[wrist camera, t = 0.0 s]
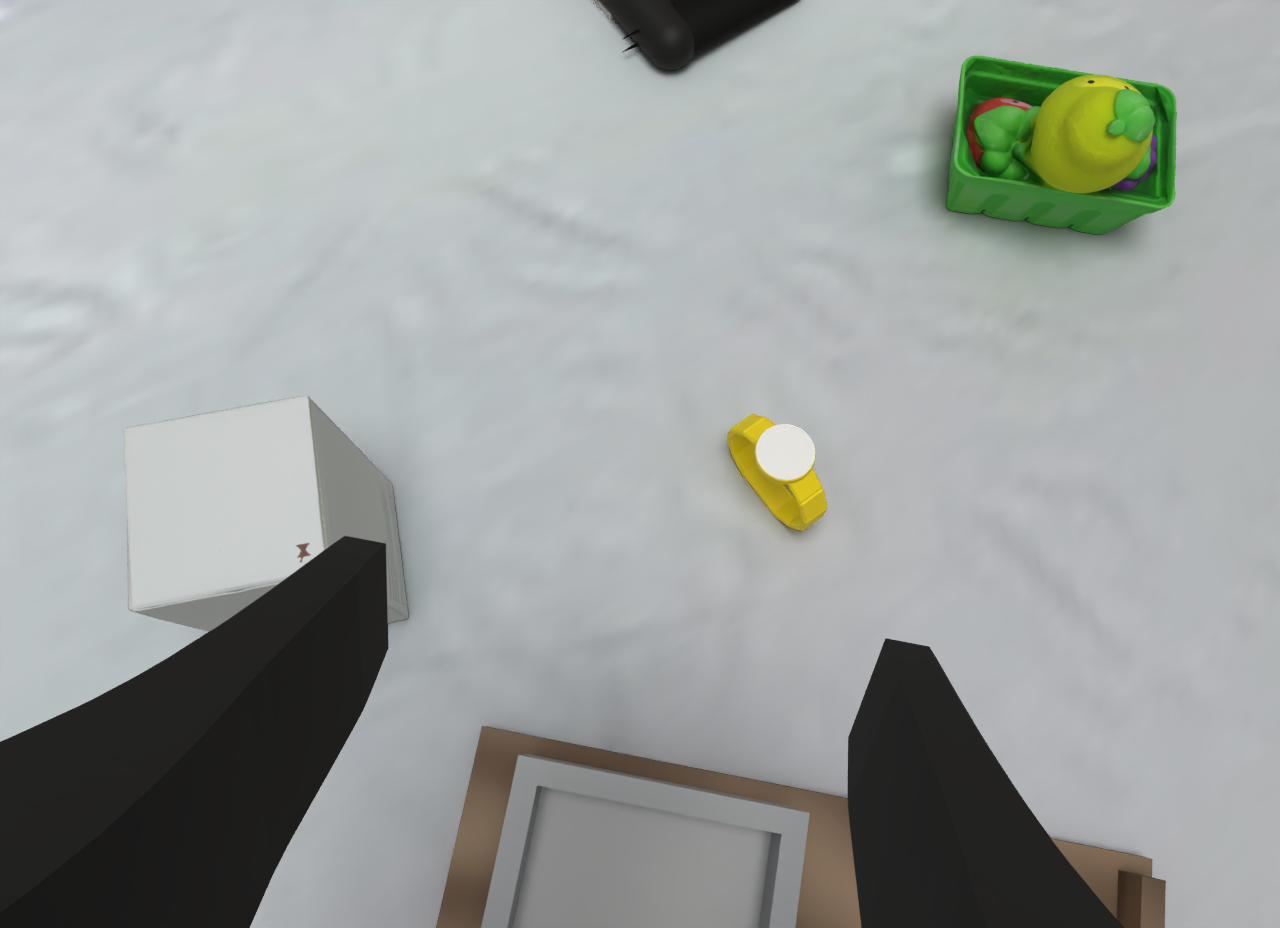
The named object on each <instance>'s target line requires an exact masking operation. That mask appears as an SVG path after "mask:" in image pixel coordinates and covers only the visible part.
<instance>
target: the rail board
mask: <svg viewBox="0 0 1280 928" xmlns="http://www.w3.org/2000/svg"><path fill="white" fill-rule="evenodd" d="M523 754H530V755H536V756H541V757H546V758H551V759H556V760H561V761H566V762H571V763H576V764H581V765H586V766H591V767H596V768H601V769H606V770H611V771H616V772H621V773H626V774H631V775H636V776H641V777H646V778H651V779H656V780H661V781H666V782H671V783H676V784H681V785H687V786H692V787H697V788H702V789H707V790H712V791H717V792H722V793H727V794H732V795H737V796H742V797H747V798H752V799H757V800H762V801H767V802H772V803H777V804H782V805H787V806H792V807H796V808H799V809H801V810H804V811H806V812H809V813H810V815H809V823H808V831H807V839H806V847H805V854H804V862H803V870H802V878H801V886H800V894H799V902H798V910H797V918H796V925H795V928H862V927H861V919H860V910H859V902H858V893H857V885H856V876H855V867H854V859H853V850H852V841H851V831H850V822H849V812H848V798H843V797H838V796H833V795H828V794H823V793H818V792H813V791H808V790H803V789H798V788H793V787H788V786H783V785H778V784H773V783H768V782H763V781H758V780H752V779H747V778H742V777H737V776H732V775H727V774H722V773H717V772H712V771H707V770H702V769H697V768H692V767H687V766H682V765H677V764H672V763H667V762H661V761H656V760H651V759H646V758H641V757H636V756H631V755H626V754H621V753H616V752H611V751H606V750H601V749H596V748H591V747H586V746H581V745H576V744H570V743H565V742H560V741H555V740H550V739H545V738H540V737H535V736H530V735H525V734H520V733H515V732H510V731H505V730H500V729H495V728H490V727H484V726H482V730H481V734H480V739H479V743H478V747H477V752H476V756H475V760H474V765H473V769H472V773H471V778H470V782H469V787H468V791H467V795H466V800H465V804H464V808H463V813H462V817H461V821H460V826H459V830H458V835H457V839H456V843H455V848H454V852H453V856H452V861H451V865H450V869H449V874H448V878H447V883H446V887H445V891H444V896H443V900H442V904H441V909H440V913H439V917H438V922H437V926H436V928H481V926H482V921H483V916H484V912H485V907H486V903H487V898H488V893H489V889H490V884H491V879H492V875H493V870H494V866H495V861H496V856H497V852H498V847H499V842H500V838H501V833H502V829H503V824H504V819H505V815H506V810H507V805H508V801H509V796H510V792H511V787H512V782H513V778H514V773H515V769H516V764H517V759H518V755H523ZM1052 841H1053V842H1054V843H1055V845H1056V846H1057V847H1058V849H1059V850H1060V851H1061V852H1062V854H1063V855H1064V856H1065V858H1066V859H1067V860H1068V861H1069V863H1070V864H1071V865H1072V866H1073V868H1074V869H1075V870H1076V871H1077V872H1078V874H1079V875H1080V876H1081V877H1082V878H1083V880H1084V881H1085V882H1086V883H1087V885H1088V886H1089V887H1090V888H1091V889H1092V891H1093V892H1094V893H1095V894H1096V895H1097V897H1098V898H1099V899H1100V900H1101V901H1102V903H1103V904H1104V905H1105V906H1106V907H1107V909H1108V910H1109V911H1110V912H1111V913H1112V914H1113V915H1114V917H1115V918H1116V919H1117V920H1118V921H1119V922H1120V923H1121V924H1122V926H1123V927H1124V928H1165V883H1166V881H1164V880H1160V879H1156V878H1152V859H1150V858H1146V857H1142V856H1137V855H1132V854H1127V853H1122V852H1116V851H1111V850H1106V849H1101V848H1096V847H1091V846H1086V845H1081V844H1076V843H1071V842H1066V841H1061V840H1056V839H1052Z"/></svg>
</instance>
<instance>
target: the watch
mask: <svg viewBox="0 0 1280 928" xmlns="http://www.w3.org/2000/svg"><path fill="white" fill-rule="evenodd" d="M727 440H728V444H729V448H730V452H731V453H732V454H731V455H732V457H733V459H734V461H735V463H736V465H737V467H738V469H739V471H740V473H742V474H741V475H742V476H744V477H745V479H746V480H747V481H748V482H749V484H750V485H751V486H752V487H753V489H754V490H755V491H756V493H757V494H758V495H759V496H760V498H761V499H762V500H763V502H764V503H765V504H766V505H767V507H768V508H769V509H770V510H771V512H772V513H773V514H774V516H775V517H776V518H778V519H779V520H780V521H781V522H783V523H784V524H785V525H787V526H788V527H790V528H792V529H796V530H800V531H803V530H805V529H806V528H808V527H809V526H810V525H812V524H813V523H814V522H816V521H817V520H819V519H820V518H821V517H823V515H824V513H825V511H826V510H827V502H826V498H825V494H824V490H823V488H822V485H821V483H820V481H819V479H818V477H817V475H816V473H815V472H814V470H813V468H812V467H813V465H814V462H815V456H816V451H815V447H814V444H813V442H812V440H811V438H810V437H809V435H808V434H807V433H806V432H804V431H803V430H802V429H800V428H798V427H796V426H794V425H788V424H780V425H775V424H774V423H773V422H772V421H770V420H769V419H767V418H766V417H762V416H758V415H754V414H751V415H750V416H748V417H747V418H745V419H744V420H742V421H741V422H740V423H738V424H737V425H735V426H734V427H732V428H731V430H730V431H729V433H728V435H727ZM785 485H788V487H789V489H790V491H791V493H792V494H793V496H794V497H793V496H792V494H791V493H790V492H789V490H788V489H787V488H786V487H785Z"/></svg>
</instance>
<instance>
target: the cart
mask: <svg viewBox="0 0 1280 928" xmlns="http://www.w3.org/2000/svg"><path fill="white" fill-rule="evenodd" d="M809 815H810V813H809V812H806V811H804V810H801V809H799V808H796V807H792V806H787V805H782V804H777V803H772V802H767V801H762V800H757V799H752V798H747V797H742V796H737V795H732V794H727V793H722V792H717V791H712V790H707V789H702V788H697V787H692V786H687V785H681V784H676V783H671V782H666V781H661V780H656V779H651V778H646V777H641V776H636V775H631V774H626V773H621V772H616V771H611V770H606V769H601V768H596V767H591V766H586V765H581V764H576V763H571V762H566V761H561V760H556V759H551V758H546V757H541V756H536V755H530V754H523V755H518V759H517V764H516V769H515V773H514V778H513V782H512V787H511V792H510V796H509V801H508V805H507V810H506V815H505V819H504V824H503V829H502V833H501V838H500V842H499V847H498V852H497V856H496V861H495V866H494V870H493V875H492V879H491V884H490V889H489V893H488V898H487V903H486V907H485V912H484V916H483V921H482V926H481V928H795V925H796V918H797V910H798V902H799V894H800V886H801V878H802V870H803V862H804V854H805V847H806V839H807V831H808V823H809Z"/></svg>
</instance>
